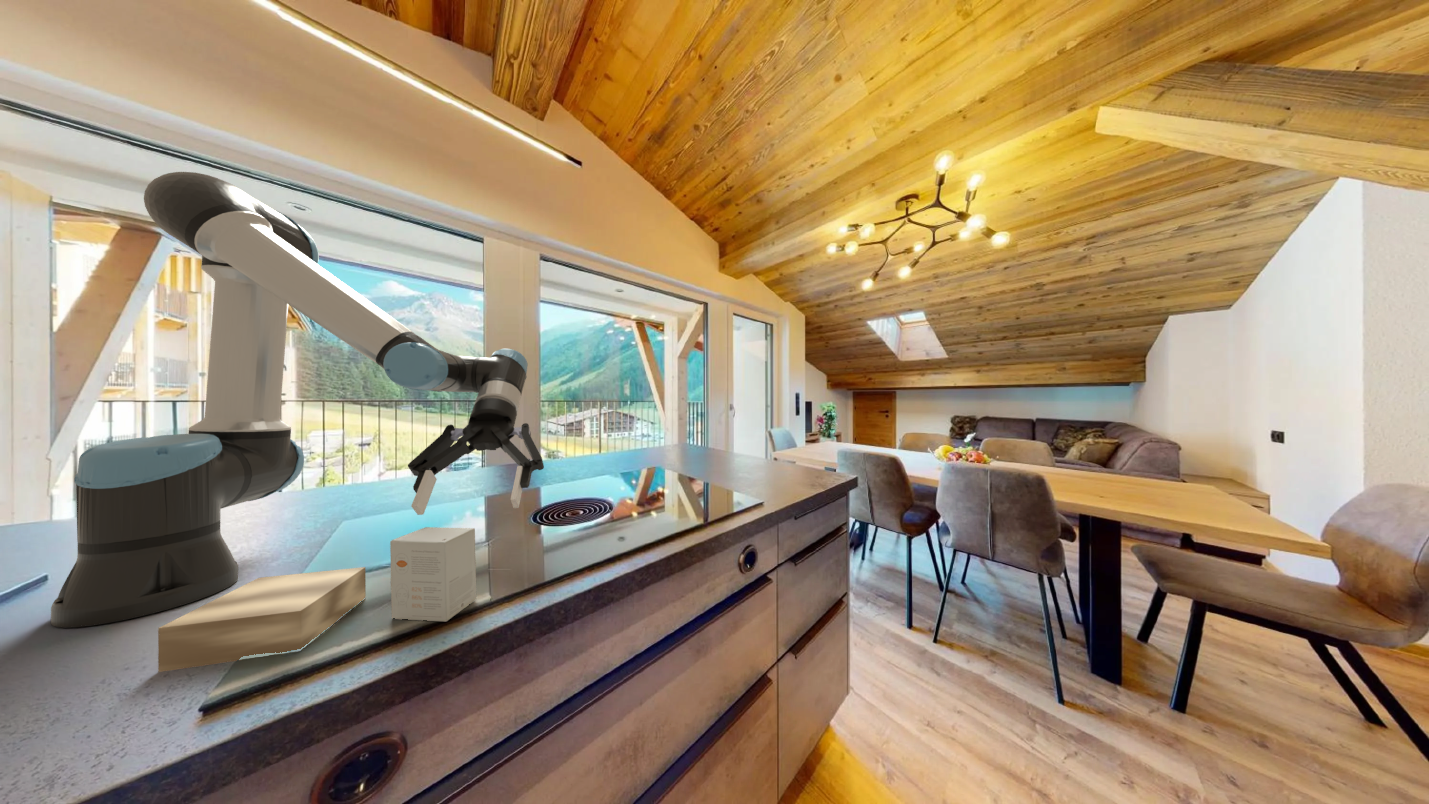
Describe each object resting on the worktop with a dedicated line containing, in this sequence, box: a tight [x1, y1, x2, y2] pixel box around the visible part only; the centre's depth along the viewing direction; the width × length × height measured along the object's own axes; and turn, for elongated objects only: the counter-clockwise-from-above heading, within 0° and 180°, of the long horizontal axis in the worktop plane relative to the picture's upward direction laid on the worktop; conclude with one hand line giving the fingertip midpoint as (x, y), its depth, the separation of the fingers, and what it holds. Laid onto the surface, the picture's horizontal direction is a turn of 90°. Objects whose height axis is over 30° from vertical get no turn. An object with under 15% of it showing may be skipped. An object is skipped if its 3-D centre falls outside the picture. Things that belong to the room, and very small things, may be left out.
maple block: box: [157, 566, 367, 673], centre depth 47 cm, size 12×12×5 cm
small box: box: [389, 526, 477, 622], centre depth 52 cm, size 8×6×10 cm
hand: (467, 507), depth 60 cm, fingers open, 13 cm apart
